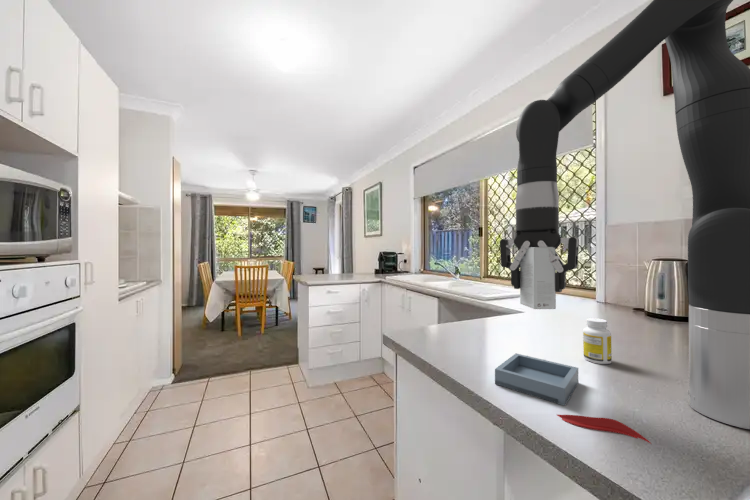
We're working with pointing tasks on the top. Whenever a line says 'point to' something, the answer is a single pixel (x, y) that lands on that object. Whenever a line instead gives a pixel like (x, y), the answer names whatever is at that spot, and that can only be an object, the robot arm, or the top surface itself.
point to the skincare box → (537, 279)
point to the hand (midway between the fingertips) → (537, 289)
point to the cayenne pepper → (601, 425)
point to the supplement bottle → (597, 341)
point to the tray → (538, 378)
